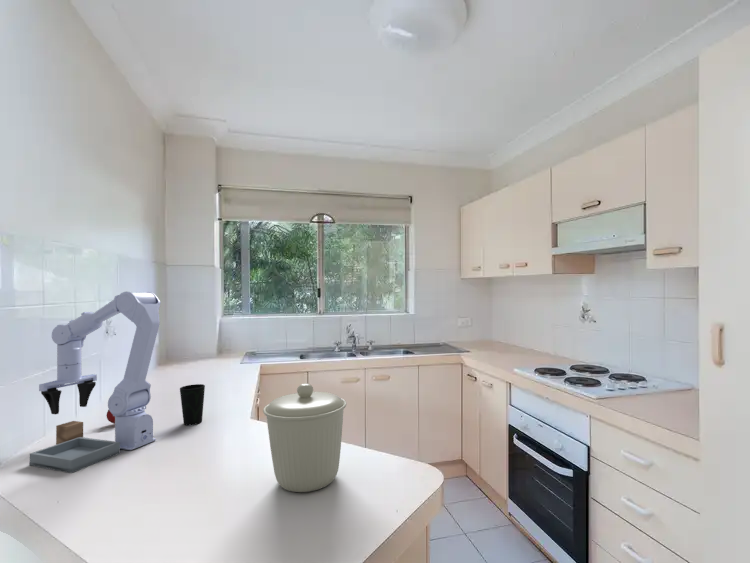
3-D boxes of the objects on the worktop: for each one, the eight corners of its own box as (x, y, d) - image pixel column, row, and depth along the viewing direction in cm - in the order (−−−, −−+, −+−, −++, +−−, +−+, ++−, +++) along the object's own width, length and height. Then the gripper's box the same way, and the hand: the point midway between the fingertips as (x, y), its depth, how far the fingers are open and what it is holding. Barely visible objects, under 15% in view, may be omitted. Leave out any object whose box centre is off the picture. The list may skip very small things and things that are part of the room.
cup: (198, 426, 123) (198, 389, 124) (175, 426, 123) (175, 389, 124) (209, 418, 131) (208, 383, 131) (187, 419, 131) (187, 384, 131)
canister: (249, 482, 83) (247, 385, 84) (317, 456, 95) (314, 372, 96) (294, 514, 70) (291, 398, 71) (365, 479, 82) (362, 381, 84)
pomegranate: (110, 428, 124) (110, 403, 124) (104, 425, 127) (103, 401, 128) (130, 423, 128) (130, 399, 129) (123, 420, 132) (123, 397, 132)
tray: (119, 453, 102) (119, 442, 102) (71, 473, 91) (71, 460, 91) (79, 447, 108) (80, 436, 108) (29, 465, 96) (29, 453, 96)
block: (83, 442, 112) (83, 421, 112) (66, 448, 108) (66, 426, 108) (73, 441, 113) (73, 420, 114) (56, 446, 109) (56, 425, 109)
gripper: (86, 360, 122) (86, 402, 121) (32, 368, 108) (32, 416, 108) (101, 360, 119) (101, 404, 119) (48, 369, 106) (48, 418, 105)
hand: (69, 410), depth 113 cm, fingers open, 7 cm apart
